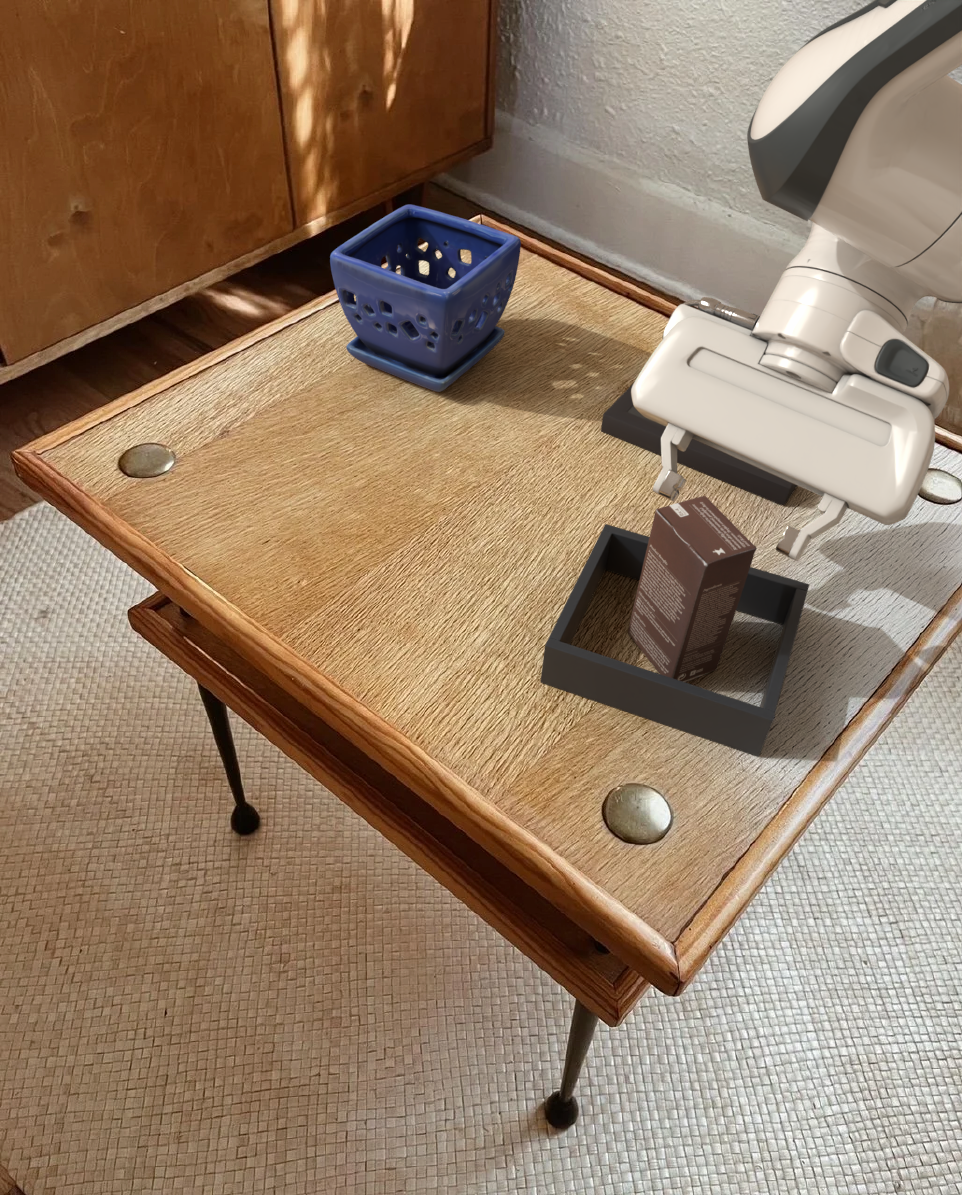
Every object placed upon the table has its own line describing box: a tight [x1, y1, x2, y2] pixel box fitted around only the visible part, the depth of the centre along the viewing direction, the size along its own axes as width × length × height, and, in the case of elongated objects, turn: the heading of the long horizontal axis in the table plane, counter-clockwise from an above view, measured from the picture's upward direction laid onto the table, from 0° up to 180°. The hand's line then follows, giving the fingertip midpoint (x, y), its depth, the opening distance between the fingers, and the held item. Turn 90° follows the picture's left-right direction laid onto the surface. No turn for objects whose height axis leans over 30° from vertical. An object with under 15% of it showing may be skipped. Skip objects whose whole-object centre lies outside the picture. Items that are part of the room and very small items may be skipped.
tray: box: [539, 523, 810, 757], centre depth 73 cm, size 16×14×4 cm
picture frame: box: [600, 382, 799, 507], centre depth 93 cm, size 13×2×18 cm
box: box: [627, 495, 757, 683], centre depth 71 cm, size 6×4×12 cm
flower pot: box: [329, 204, 522, 393], centre depth 96 cm, size 13×13×12 cm
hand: (723, 525), depth 70 cm, fingers open, 8 cm apart
